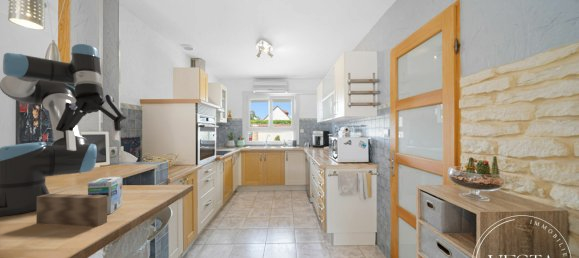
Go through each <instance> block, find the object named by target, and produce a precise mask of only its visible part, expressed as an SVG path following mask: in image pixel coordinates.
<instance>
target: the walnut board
mask: <svg viewBox="0 0 579 258" xmlns="http://www.w3.org/2000/svg"><path fill="white" fill-rule="evenodd" d="M35 223H36V225H60V226H61V225H62V226H63V225H64V226H85V227H86V226H88V227H99V226H101V225H104V224H106V223H108V214H107V195H88V194H70V193H68V194H66V193H63V194H62V193H60V194H58V193H50V194H46V195H41V196H37V210H36V222H35Z"/></svg>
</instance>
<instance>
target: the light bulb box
mask: <svg viewBox="0 0 579 258" xmlns="http://www.w3.org/2000/svg"><path fill="white" fill-rule="evenodd" d="M87 195H107V215H111V214H113V213H114V212H115V211H116V210H118V209H119V208H120V207H122V206H123V176H107V177H106V176H105V177H100V178H98V179H97V178H96V179H95V180H92V181H91V182H90V181H89V182H88V183H87ZM121 205H122V206H121Z"/></svg>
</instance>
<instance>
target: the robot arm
mask: <svg viewBox="0 0 579 258" xmlns="http://www.w3.org/2000/svg"><path fill="white" fill-rule="evenodd" d="M70 54H71V60H70V62H64V61H61V60H60V61H59V60H52V59H49V58H42V57H37V56H36V57H35V56H32V55H25V54H22V53H11V52H6V53H4V54H3V58H2V72H3V74H4V77H3V78H2V79H1V80H0V91H1V92H2V94H4V95H5V96H7V97H8V98H10V99H12V100H15V101H18V102H20V103H24V104H30V105H42V106H43V108H44V109H45V110H46V111H48V113H49V119H50V122H51V128H52V133H53V138H54V141H53V142H52V143H51V144H50V145H48V144H47V142H45V141H37V142H28V143H18V144H10V145H4V146H0V217H3V216H4V217H5V216H12V215H19V214H25V213H30V212H36V211H37V196H41V195H46V194H51V193H50V191H49V188H48V187H47V184H46V179H47V177H56V176H62V175H63V176H64V175H72V174H83V173H88V172H92V171H94V168H95V166H96V162H97V155H98V147H97V145H96V144H95V143H90V142H89V140H88V139H87V138H86V137H83V135H82V131H81V127H80V121H81V120H82V119H83V117H85V116H86V115H87V114H91V113H97V112H99V111H100V112H102V113H103V114H104V115H106V116H107V117H108V118H110V119H111V121H110V130H111V140H112V141H114V142H120V141H121V140H120V131H122V126H121V122H122V121H123V120H126V119H127V116H126V115H125V114H124V113H123V111H122V110H121V109H120V107H119V106H118V105H117V103H116V102H115V99H114V97H113V96H112V95H110V94H106V95H105V96H104V88H103V80H102V71H101V70H102V69H101V57H100V53H99V50H98V49H97V47H94V46H93V45H89V44H85V43H78V44H74V45H73V46H71V53H70ZM104 103H107V104H108V105H109V107H110V108H111V109H112V111H113V112H114V113H115V114H116V115H117V116H116V115H115V114H114V113H113V112H111V111H110V110H108V108H106V107H104V106H103V105H104Z"/></svg>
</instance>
